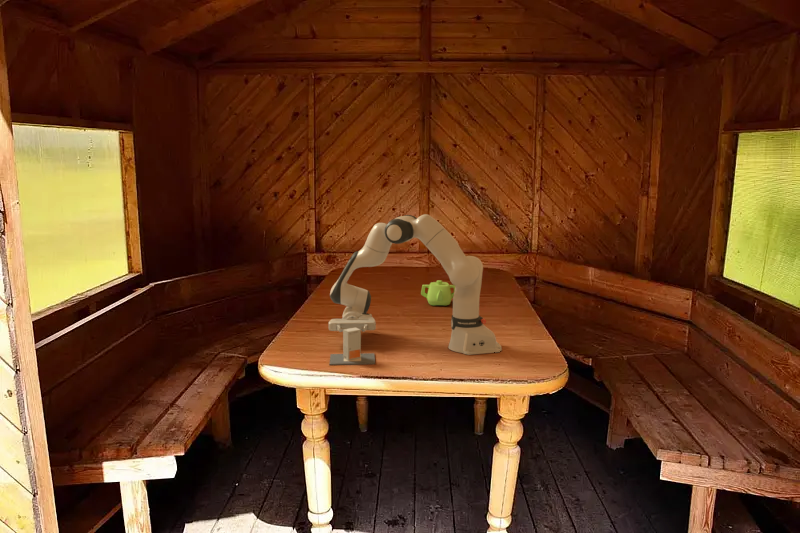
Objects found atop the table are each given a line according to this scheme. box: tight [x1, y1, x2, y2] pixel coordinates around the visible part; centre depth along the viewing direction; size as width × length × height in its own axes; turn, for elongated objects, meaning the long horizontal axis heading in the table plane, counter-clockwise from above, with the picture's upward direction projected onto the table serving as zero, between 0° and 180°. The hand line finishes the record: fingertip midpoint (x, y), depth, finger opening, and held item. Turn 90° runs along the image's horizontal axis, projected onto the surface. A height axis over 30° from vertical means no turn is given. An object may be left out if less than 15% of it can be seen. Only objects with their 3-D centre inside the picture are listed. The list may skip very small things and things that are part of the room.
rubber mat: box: [329, 352, 376, 366], centre depth 259 cm, size 18×12×1 cm, turn 94°
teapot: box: [420, 279, 455, 307], centre depth 349 cm, size 18×20×13 cm
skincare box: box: [342, 327, 362, 360], centre depth 258 cm, size 6×4×12 cm
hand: (352, 329), depth 270 cm, fingers open, 8 cm apart
